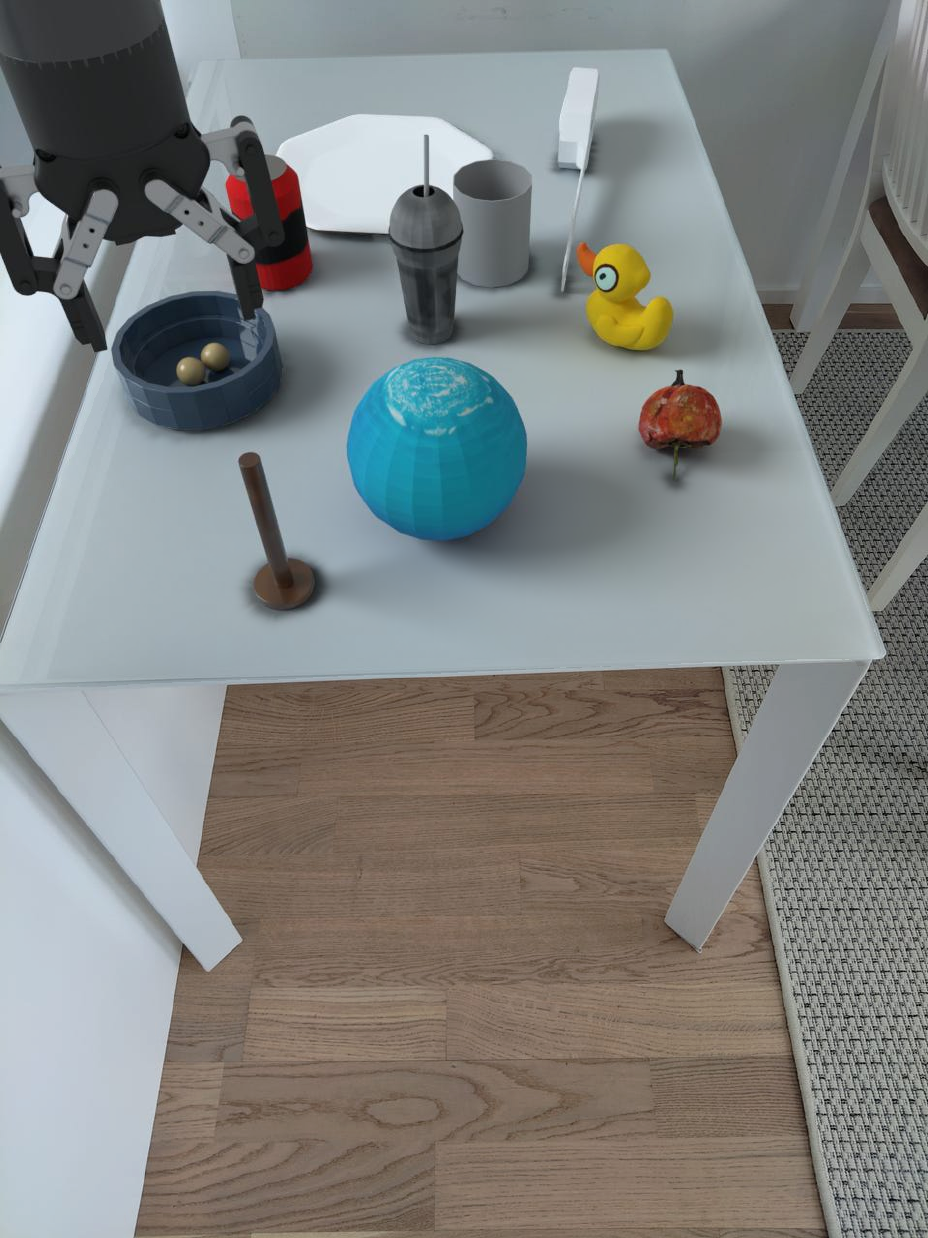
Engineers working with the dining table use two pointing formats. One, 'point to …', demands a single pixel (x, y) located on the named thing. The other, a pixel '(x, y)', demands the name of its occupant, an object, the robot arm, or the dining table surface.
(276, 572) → the stirrer
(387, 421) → the decorative orb
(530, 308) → the dining table surface
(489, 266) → the cup
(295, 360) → the dining table surface
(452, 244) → the beverage cup
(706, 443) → the orange red pumpkin
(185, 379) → the bead
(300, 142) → the plate
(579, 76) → the spatula
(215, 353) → the bead
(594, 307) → the duckling
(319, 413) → the dining table surface
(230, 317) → the bowl
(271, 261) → the soda can
